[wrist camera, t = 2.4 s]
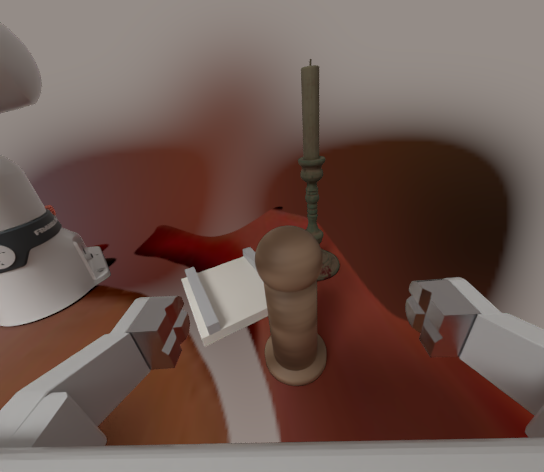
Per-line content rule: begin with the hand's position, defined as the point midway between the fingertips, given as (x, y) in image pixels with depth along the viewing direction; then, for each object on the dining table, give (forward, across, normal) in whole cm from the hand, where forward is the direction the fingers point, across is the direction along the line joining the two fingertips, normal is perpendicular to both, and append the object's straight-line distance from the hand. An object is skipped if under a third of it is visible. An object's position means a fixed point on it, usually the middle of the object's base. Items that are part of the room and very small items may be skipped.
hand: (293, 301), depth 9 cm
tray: (+22, +9, +19) cm, 31 cm away
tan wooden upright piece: (+11, 0, +19) cm, 22 cm away
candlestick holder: (+29, -4, +19) cm, 35 cm away
